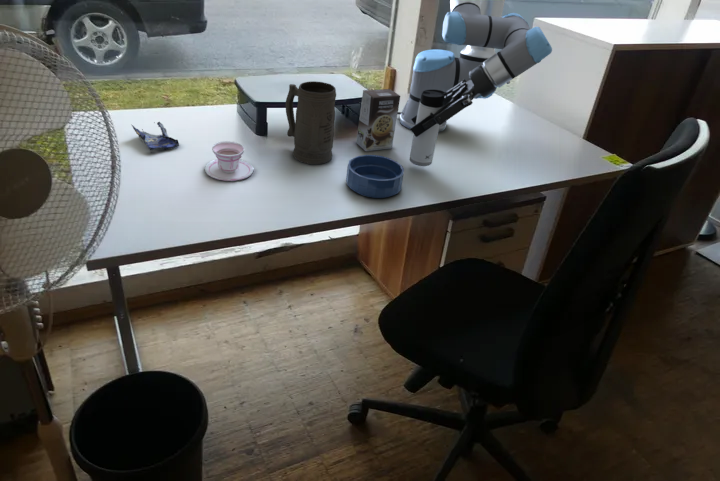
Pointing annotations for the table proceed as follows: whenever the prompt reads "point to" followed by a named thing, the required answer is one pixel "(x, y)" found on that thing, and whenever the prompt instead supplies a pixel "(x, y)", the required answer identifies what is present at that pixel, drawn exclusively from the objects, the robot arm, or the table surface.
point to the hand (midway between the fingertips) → (413, 127)
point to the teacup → (228, 162)
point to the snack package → (157, 139)
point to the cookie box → (377, 119)
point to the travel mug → (427, 140)
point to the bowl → (374, 176)
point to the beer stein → (312, 121)
